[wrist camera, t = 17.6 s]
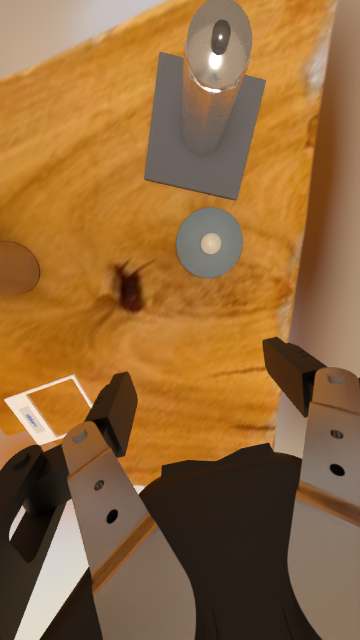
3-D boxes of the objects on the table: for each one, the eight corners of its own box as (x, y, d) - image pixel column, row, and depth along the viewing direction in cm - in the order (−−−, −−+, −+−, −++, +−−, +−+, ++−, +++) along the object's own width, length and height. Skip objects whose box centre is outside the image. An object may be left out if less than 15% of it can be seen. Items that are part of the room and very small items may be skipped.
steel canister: (187, 160, 33) (195, 86, 19) (178, 115, 31) (179, -4, 17) (224, 149, 33) (260, 65, 18) (216, 103, 31) (250, -29, 17)
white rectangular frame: (3, 400, 46) (73, 375, 44) (7, 396, 47) (75, 372, 46) (38, 446, 50) (103, 424, 49) (41, 442, 51) (105, 421, 50)
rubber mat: (144, 179, 34) (144, 178, 34) (160, 55, 30) (159, 51, 29) (235, 200, 35) (236, 199, 35) (264, 83, 31) (265, 80, 30)
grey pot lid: (170, 271, 39) (170, 272, 36) (183, 201, 35) (183, 197, 32) (231, 283, 40) (235, 285, 37) (249, 216, 36) (255, 213, 33)
